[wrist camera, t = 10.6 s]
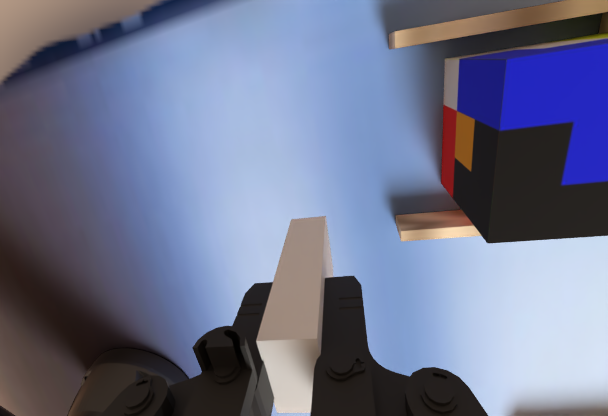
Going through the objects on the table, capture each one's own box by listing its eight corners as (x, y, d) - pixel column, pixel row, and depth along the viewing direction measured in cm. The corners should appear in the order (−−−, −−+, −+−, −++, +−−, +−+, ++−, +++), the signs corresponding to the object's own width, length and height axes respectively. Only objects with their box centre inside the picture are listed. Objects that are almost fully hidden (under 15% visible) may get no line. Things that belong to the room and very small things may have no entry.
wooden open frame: (396, 224, 30) (401, 241, 27) (388, 34, 23) (394, 31, 20) (581, 209, 27) (607, 226, 24) (632, -10, 20) (676, -20, 18)
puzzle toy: (444, 58, 23) (506, 59, 14) (596, 34, 22) (774, 17, 13) (440, 183, 28) (487, 243, 19) (568, 170, 26) (688, 230, 17)
